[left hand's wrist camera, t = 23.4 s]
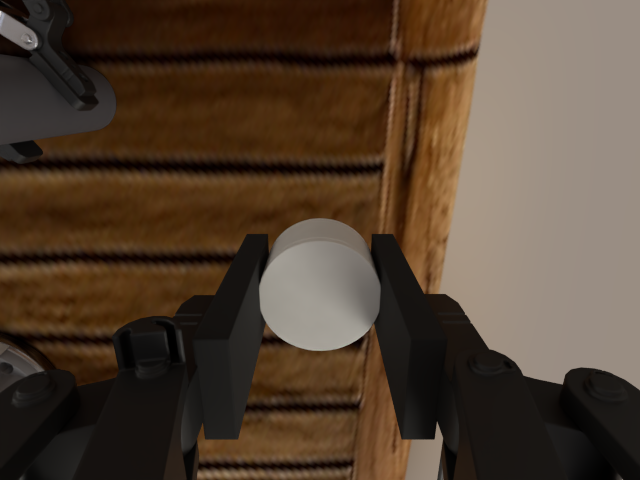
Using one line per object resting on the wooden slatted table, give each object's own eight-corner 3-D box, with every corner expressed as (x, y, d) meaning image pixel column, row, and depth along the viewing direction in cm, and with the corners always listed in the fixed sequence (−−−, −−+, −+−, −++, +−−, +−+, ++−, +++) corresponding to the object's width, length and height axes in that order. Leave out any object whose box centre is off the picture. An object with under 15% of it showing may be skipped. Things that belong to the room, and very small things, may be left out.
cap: (298, 198, 14) (293, 218, 11) (392, 249, 14) (406, 277, 12) (250, 286, 15) (237, 319, 12) (339, 329, 15) (342, 368, 13)
